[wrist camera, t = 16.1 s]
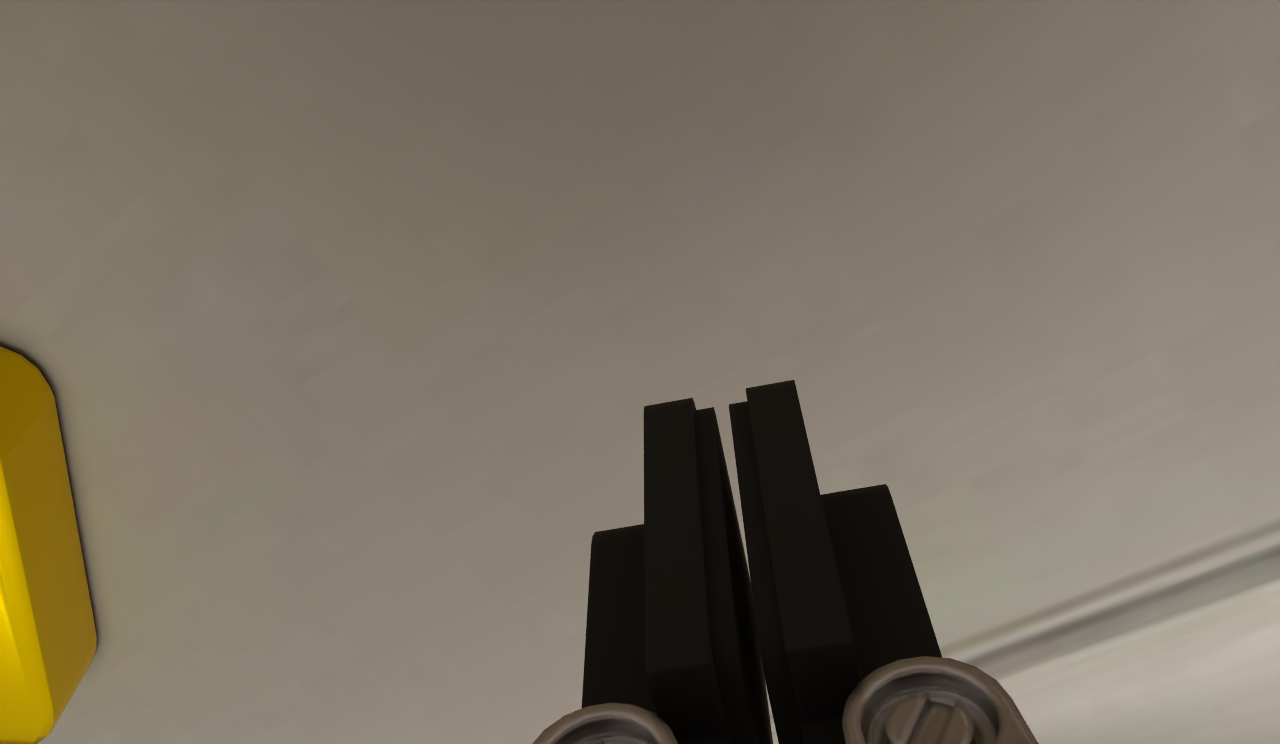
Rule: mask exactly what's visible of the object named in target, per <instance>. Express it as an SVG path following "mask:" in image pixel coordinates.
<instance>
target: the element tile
mask: <svg viewBox="0 0 1280 744" xmlns="http://www.w3.org/2000/svg"><path fill="white" fill-rule="evenodd" d="M96 642H97V635H96V629H95V623H94V618H93V612H92V606H91V601H90V595H89V590H88V584H87V578H86V573H85V567H84V561H83V556H82V550H81V544H80V539H79V533H78V527H77V522H76V516H75V511H74V505H73V499H72V494H71V488H70V482H69V477H68V471H67V465H66V460H65V454H64V448H63V443H62V437H61V432H60V426H59V420H58V415H57V409H56V403H55V398H54V395H53V393H52V390H51V388H50V386H49V384H48V383H47V381H46V380H45V378H44V377H43V375H42V374H41V372H40V371H39V369H38V368H37V367H36V366H34V365H33V364H32V363H31V362H29V361H28V360H27V359H26V358H24V357H23V356H22V355H20V354H18V353H15V352H13V351H10V350H8V349H6V348H3V347H1V346H0V744H37V743H38V742H40V741H41V740H42V739H44V738H45V737H47V736H48V735H49V734H50V733H51V731H52V730H53V728H54V726H55V725H56V723H57V721H58V719H59V718H60V716H61V714H62V712H63V711H64V709H65V707H66V705H67V704H68V702H69V700H70V698H71V697H72V695H73V693H74V692H75V690H76V688H77V686H78V685H79V683H80V681H81V679H82V678H83V676H84V674H85V672H86V671H87V669H88V667H89V665H90V664H91V661H92V659H93V656H94V654H95V652H96Z"/></svg>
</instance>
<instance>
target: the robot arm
mask: <svg viewBox="0 0 1280 744" xmlns="http://www.w3.org/2000/svg"><path fill="white" fill-rule="evenodd" d="M746 394H747V400H748V401H746V402H741V403H735V404H729V411H730V419H731V427H732V435H733V443H734V451H735V459H736V467H737V475H738V483H739V491H740V499H741V507H742V515H743V523H744V531H745V539H746V547H747V555H748V563H749V571H750V577H749V572H748V567H747V562H746V557H745V553H744V548H743V543H742V538H741V533H740V529H739V524H738V519H737V514H736V510H735V505H734V500H733V495H732V490H731V486H730V481H729V476H728V471H727V466H726V462H725V457H724V452H723V447H722V443H721V438H720V433H719V428H718V423H717V419H716V414H715V410H714V407H712V408H706V409H701V410H696V407H695V404H694V400H693V398H689V399H683V400H677V401H672V402H666V403H660V404H655V405H649V406H645V407H644V524H642V525H636V526H630V527H624V528H618V529H611V530H605V531H599V532H595V533H594V535H593V537H592V544H591V559H590V576H589V593H588V611H587V628H586V645H585V662H584V679H583V696H582V709H580V710H577V711H575V712H573V713H570V714H568V715H565V716H563V717H562V718H561V719H559V720H558V721H556V722H555V723H554V724H552V725H551V726H549V727H548V728H546V729H545V730H544V731H543V732H542V733H541V734H540V736H539V737H538V738H537V739H536V740H535V741H534V743H533V744H773V739H772V732H771V724H770V716H769V708H768V700H767V692H766V685H767V690H768V695H769V699H770V704H771V709H772V714H773V718H774V723H775V728H776V732H777V737H778V742H779V744H1038V742H1037V741H1036V739H1035V737H1034V735H1033V734H1032V732H1031V730H1030V729H1029V727H1028V725H1027V724H1026V722H1025V720H1024V719H1023V717H1022V715H1021V713H1020V712H1019V710H1018V708H1017V707H1016V705H1015V703H1014V702H1013V700H1012V698H1011V697H1010V696H1009V695H1008V693H1007V692H1006V691H1005V690H1004V689H1003V687H1002V686H1001V685H1000V684H999V683H998V682H997V680H995V679H994V678H992V677H991V676H989V675H988V674H986V673H984V672H983V671H981V670H980V669H978V668H977V667H975V666H972V665H969V664H966V663H963V662H960V661H957V660H954V659H951V658H942V655H941V652H940V649H939V646H938V643H937V640H936V636H935V633H934V630H933V627H932V624H931V621H930V617H929V614H928V611H927V608H926V605H925V602H924V598H923V595H922V592H921V589H920V586H919V582H918V579H917V576H916V573H915V570H914V567H913V563H912V560H911V557H910V554H909V551H908V548H907V544H906V541H905V538H904V535H903V532H902V529H901V525H900V522H899V519H898V516H897V513H896V510H895V506H894V503H893V500H892V497H891V494H890V491H889V489H888V487H887V485H886V484H883V485H877V486H871V487H865V488H859V489H853V490H847V491H841V492H835V493H829V494H823V495H820V492H819V487H818V483H817V478H816V474H815V469H814V465H813V461H812V456H811V452H810V447H809V443H808V438H807V434H806V430H805V425H804V421H803V416H802V412H801V408H800V403H799V399H798V394H797V390H796V385H795V381H794V380H791V381H785V382H779V383H774V384H768V385H762V386H757V387H751V388H746ZM750 579H751V581H750ZM765 681H766V684H765Z"/></svg>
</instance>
